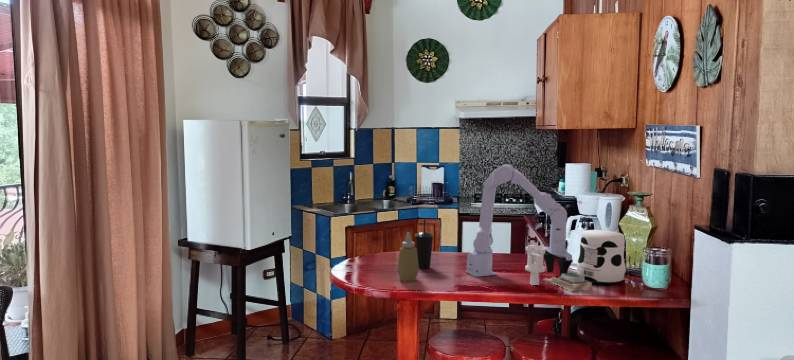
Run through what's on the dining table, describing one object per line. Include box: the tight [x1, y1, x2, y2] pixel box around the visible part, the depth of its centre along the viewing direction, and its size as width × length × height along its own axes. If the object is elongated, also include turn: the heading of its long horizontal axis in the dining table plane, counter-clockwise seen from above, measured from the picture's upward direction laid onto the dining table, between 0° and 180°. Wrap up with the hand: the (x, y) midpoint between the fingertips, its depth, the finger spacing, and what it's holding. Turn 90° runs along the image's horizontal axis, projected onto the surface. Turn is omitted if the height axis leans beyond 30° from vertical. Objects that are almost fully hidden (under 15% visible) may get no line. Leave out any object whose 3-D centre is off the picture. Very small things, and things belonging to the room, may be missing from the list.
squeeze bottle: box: [397, 232, 420, 282], centre depth 209 cm, size 8×8×18 cm
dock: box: [542, 276, 593, 292], centre depth 206 cm, size 9×17×3 cm, turn 22°
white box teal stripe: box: [559, 271, 584, 284], centre depth 202 cm, size 5×7×4 cm
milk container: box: [576, 229, 626, 285], centre depth 210 cm, size 17×17×18 cm
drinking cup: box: [414, 218, 435, 270], centre depth 227 cm, size 8×8×20 cm
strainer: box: [524, 244, 546, 286], centre depth 205 cm, size 7×7×15 cm
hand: (556, 274), depth 211 cm, fingers open, 7 cm apart
